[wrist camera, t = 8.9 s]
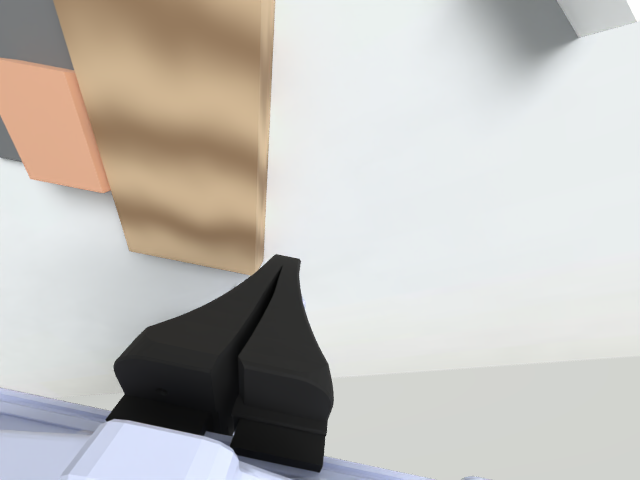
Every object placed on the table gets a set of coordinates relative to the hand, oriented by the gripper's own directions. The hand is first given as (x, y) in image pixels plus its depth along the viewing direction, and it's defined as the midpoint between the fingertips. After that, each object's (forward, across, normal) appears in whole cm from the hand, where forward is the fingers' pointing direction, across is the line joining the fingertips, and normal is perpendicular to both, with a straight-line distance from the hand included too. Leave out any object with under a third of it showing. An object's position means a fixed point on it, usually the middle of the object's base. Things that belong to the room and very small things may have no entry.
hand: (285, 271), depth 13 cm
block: (+9, +19, -3) cm, 21 cm away
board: (+9, +10, -3) cm, 14 cm away
